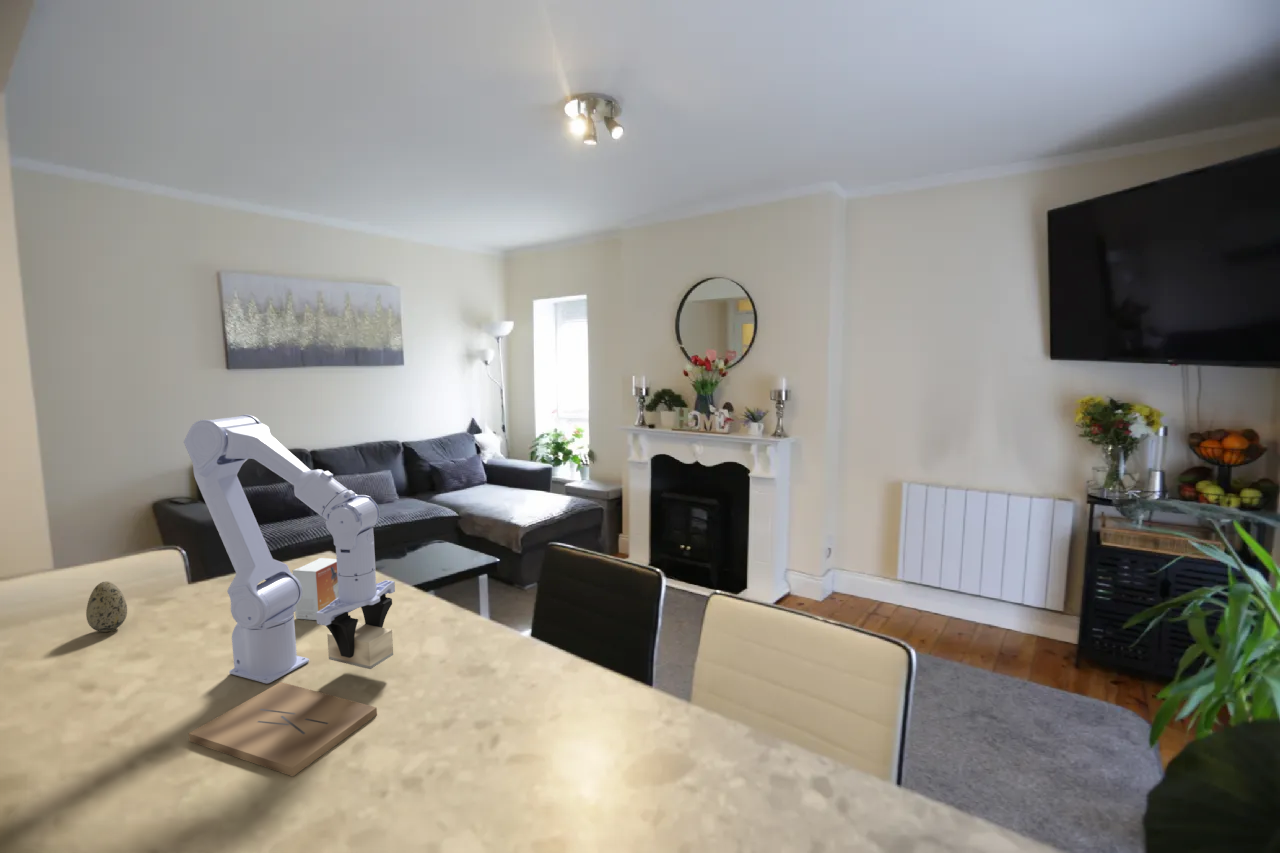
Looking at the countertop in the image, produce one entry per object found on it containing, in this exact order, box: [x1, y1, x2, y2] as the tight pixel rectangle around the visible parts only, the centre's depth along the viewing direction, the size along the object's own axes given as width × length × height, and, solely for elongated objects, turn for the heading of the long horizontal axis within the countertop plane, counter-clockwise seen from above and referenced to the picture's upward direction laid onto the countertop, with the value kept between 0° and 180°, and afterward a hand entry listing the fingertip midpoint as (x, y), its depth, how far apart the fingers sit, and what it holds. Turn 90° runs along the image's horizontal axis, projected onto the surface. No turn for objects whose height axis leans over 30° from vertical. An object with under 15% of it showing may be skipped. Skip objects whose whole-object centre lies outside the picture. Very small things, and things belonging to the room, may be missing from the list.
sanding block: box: [326, 622, 394, 670], centre depth 99 cm, size 9×5×4 cm, turn 69°
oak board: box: [188, 681, 378, 777], centre depth 85 cm, size 20×14×1 cm
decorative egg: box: [85, 581, 128, 633], centre depth 115 cm, size 6×6×10 cm
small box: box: [292, 557, 339, 621], centre depth 124 cm, size 8×6×10 cm
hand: (360, 648), depth 99 cm, fingers closed on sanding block, 5 cm apart
